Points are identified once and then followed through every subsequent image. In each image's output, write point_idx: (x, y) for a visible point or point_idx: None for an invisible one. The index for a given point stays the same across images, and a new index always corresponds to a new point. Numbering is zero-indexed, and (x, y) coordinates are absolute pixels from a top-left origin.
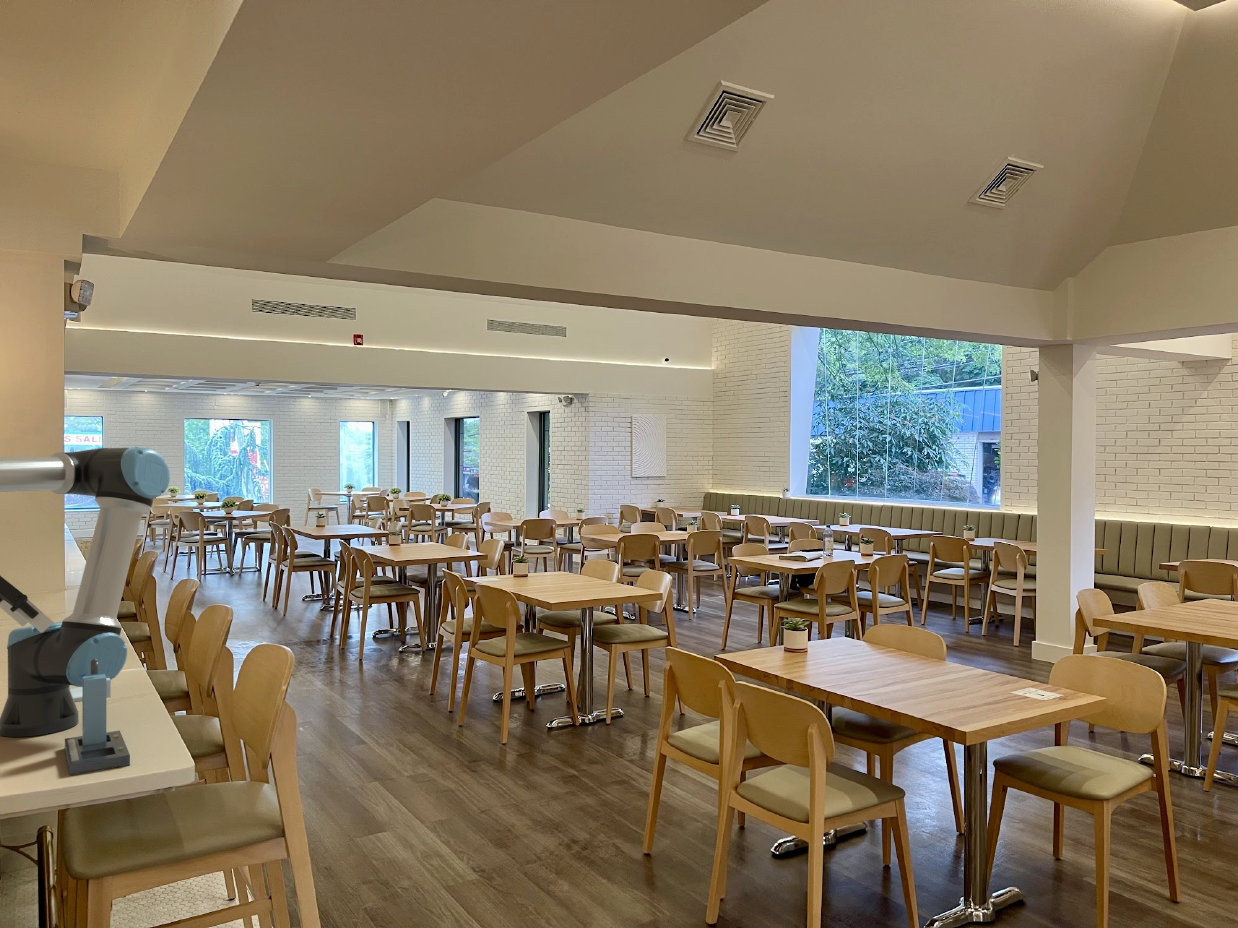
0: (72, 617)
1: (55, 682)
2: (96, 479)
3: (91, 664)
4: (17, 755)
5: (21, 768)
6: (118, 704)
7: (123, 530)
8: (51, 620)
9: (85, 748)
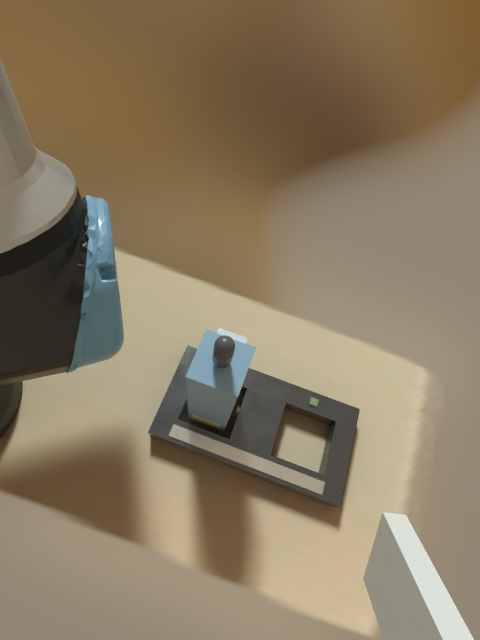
0: None
1: None
2: None
3: (228, 357)
4: (112, 519)
5: (214, 551)
6: None
7: None
8: (412, 530)
9: (254, 438)
